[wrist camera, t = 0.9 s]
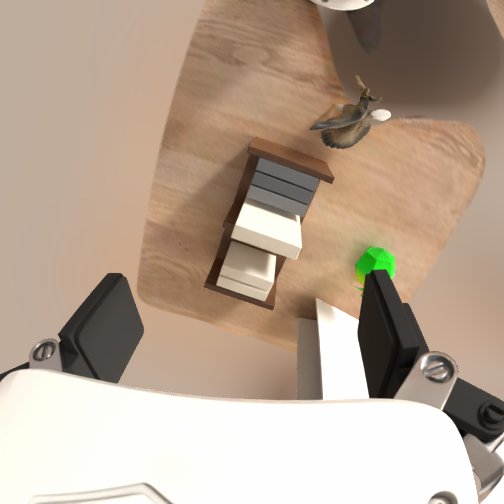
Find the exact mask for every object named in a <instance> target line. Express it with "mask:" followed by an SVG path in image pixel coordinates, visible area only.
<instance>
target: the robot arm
mask: <svg viewBox="0 0 504 504" xmlns="http://www.w3.org/2000/svg"><path fill="white" fill-rule="evenodd" d="M310 1H312V2H314V3H316V4H318V5H321V6H323V7H326V8H330V9H334V10H355V9H360V8H362V7H365V6H367V5H369V4H370V3H372V2H373V1H374V0H366V1H364V0H325V1H326V3H324V2H323V0H310ZM143 333H144V327H143V324H142V321H141V319H140V316H139V313H138V310H137V307H136V304H135V302H134V299H133V296H132V293H131V290H130V287H129V284H128V281H127V278H126V277H124V276H123V275H122V274H121V273H108V274H107V275H106V276H105V277H104V278H103V280H102V281H101V282H100V283H99V284H98V285H97V287H96V288H95V289H94V290H93V291H92V293H91V294H90V295H89V296H88V297H87V298H86V300H85V301H84V302H83V303H82V305H81V306H80V307H79V308H78V309H77V311H76V312H75V313H74V314H73V316H72V317H71V318H70V320H69V321H68V322H67V323H66V325H65V326H64V327H63V329H62V330H61V331H60V333H59V334H58V336H59V337H60V339H61V341H60V342H59V343H58V342H57V341H56V340H55V339H45V340H42V341H40V342H39V343H37V344H36V345H35V346H34V347H33V348H32V350H31V352H30V355H29V362H27V363H25V364H22V365H20V366H18V367H16V368H13V369H11V370H9V371H7V372H5V373H2V374H0V504H504V402H503V401H502V400H500V399H498V398H497V397H495V396H492V395H491V394H489V393H487V392H485V391H483V390H481V389H479V388H477V387H475V386H473V385H472V384H470V383H468V382H466V381H464V380H462V379H460V378H458V372H459V371H458V366H457V364H456V362H455V361H454V360H453V359H452V358H451V357H450V356H449V355H447V354H445V353H442V352H437V351H431V352H430V351H429V349H428V346H427V344H426V342H425V339H424V337H423V335H422V332H421V330H420V328H419V325H418V323H417V321H416V319H415V317H414V314H413V312H412V310H411V308H410V306H409V304H408V303H402V302H401V299H400V297H399V295H398V293H397V291H396V288H395V286H394V284H393V282H392V280H391V278H390V276H389V274H388V272H387V270H386V269H377V270H371V272H370V274H366V275H365V281H364V289H363V296H362V303H361V310H360V316H359V323H358V329H357V338H358V343H359V347H360V352H361V357H362V362H363V367H364V372H365V378H366V383H367V389H368V395H369V399H337V400H258V399H256V400H255V399H236V398H222V397H210V396H199V395H189V394H180V393H173V392H165V391H158V390H151V389H145V388H138V387H133V386H126V385H121V384H118V382H119V380H120V377H121V376H122V374H123V372H124V370H125V368H126V366H127V364H128V362H129V360H130V358H131V356H132V355H133V353H134V351H135V349H136V347H137V345H138V343H139V341H140V339H141V338H142V336H143ZM470 463H471V464H472V466H473V467H474V468H475V469H474V470H473V471H474V472H475V473H476V475H477V476H478V477H479V479H480V481H481V490H480V493H479V495H478V496H477V493H476V488H475V483H474V479H473V474H472V470H471V465H470ZM430 498H431V499H430Z"/></svg>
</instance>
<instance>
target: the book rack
mask: <svg viewBox="0 0 504 504" xmlns="http://www.w3.org/2000/svg"><path fill="white" fill-rule="evenodd" d="M247 152H248V153H250V156H249V159H248V161H247V164H246V167H245V170H244V173H243V176H242V179H241V182H240V185H239V188H238V191H237V194H236V197H235V200H234V203H233V205H232V207H231V209H230V211H229V213H228V215H227V217H226V219H225V221H224V224H223V227H224V228H225V230H224V233H223V237H222V240H221V243H220V246H219V249H218V252H217V255H216V258H215V261H214V263H213V265H212V268H211V270H210V272H209V275H208V277H207V279H206V282H205V285H204V287H205V288H208V289H210V290H213V291H216V292H219V293H222V294H225V295H228V296H231V297H234V298H237V299H240V300H243V301H246V302H249V303H252V304H255V305H258V306H261V307H264V308H267V309H270V310H273V308H274V305H275V293H276V281H277V277H278V274H279V272H280V270H281V268H282V266H283V264H284V261H285V259H286V257H285V256H282V255H279V254H277V253H274V252H271V251H268V250H265V249H262V248H259V247H257V246H254V245H251V244H248V243H245V242H242V241H239V240H237V239H234V238H231V235H232V233H233V230H234V227H235V224H236V221H237V219H238V216H239V214H240V211H241V209H242V206H243V204H244V201H245V199H246V195H247V192H248V190H249V187H250V184H251V181H252V178H253V175H254V173H255V170H256V167H257V164H258V161H259V159H260V157H262V158H265V159H268V160H270V161H273V162H276V163H279V164H281V165H284V166H287V167H290V168H292V169H295V170H297V171H300V172H303V173H305V174H308V175H310V176H313V177H315V178H318V179H319V182H320V180H323V181H325V182H328V183H330V184H332V183H333V181H334V176H333V174H332V172H331V171H330V169H329V167H328V165H327V164H326V163H325V162H323V161H320V160H318V159H315V158H313V157H310V156H308V155H305V154H303V153H300V152H298V151H295V150H292V149H290V148H287V147H284V146H281V145H279V144H276V143H273V142H270V141H267V140H265V139H262V138H259V137H256V138H255V139H254V141H253V142H252V143H251V145H250V146H249V148H248V151H247ZM319 182H318V184H317V187H318V185H319ZM317 187H316V189H317ZM316 189H315V191H313V196H314V194H315V192H316ZM313 196H312V198H311V200H310V203H311V201H312V199H313ZM310 203H309V204H308V207H307V210H308V208H309V205H310ZM307 210H306V212H307ZM306 212H305V214H304V217H305V215H306ZM304 217H301V216H300V229H301V224H302V221H303V219H304ZM231 241H234V242H237V243H240V244H243V245H246V246H248V247H251V248H254V249H257V250H260V251H263V252H266V253H268V254H271V255H274V256H276V263H275V274H274V283H273V285H272V287H271V289H270V291H269V294H268V296H267V298H266V300H265V301H261V300H258V299H255V298H252V297H249V296H246V295H243V294H240V293H237V292H234V291H231V290H229V289H226V288H223V287H220V286H217V285H216V284H217V281H218V278H219V275H220V272H221V269H222V266H223V263H224V260H225V257H226V255H227V252H228V249H229V247H230V244H231ZM301 243H302V240H301ZM301 251H302V249H301ZM301 251H300V253H301ZM300 253H299V254H300Z"/></svg>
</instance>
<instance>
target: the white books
mask: <svg viewBox="0 0 504 504" xmlns="http://www.w3.org/2000/svg"><path fill="white" fill-rule="evenodd" d="M275 263H276V256H274V255H271V254H268V253H266V252H263V251H260V250H257V249H254V248H251V247H248V246H246V245H243V244H240V243H237V242H234V241H231V244H230V247H229V249H228V252H227V255H226V257H225V260H224V263H223V266H222V269H221V272H220V275H219V278H218V281H217V284H216V285H217V286H220V287H223V288H226V289H229V290H231V291H234V292H237V293H240V294H243V295H246V296H249V297H252V298H255V299H258V300H261V301H265V300H266V298H267V296H268V294H269V291H270V289H271V287H272V285H273V283H274V274H275Z"/></svg>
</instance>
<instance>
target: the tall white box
mask: <svg viewBox="0 0 504 504" xmlns="http://www.w3.org/2000/svg"><path fill="white" fill-rule="evenodd" d="M315 302H316V314H317V320H312V319H306V318H301V317H298V318H297V400H337V399H369V395H368V389H367V383H366V378H365V372H364V367H363V362H362V357H361V352H360V347H359V343H358V338H357V329H358V323H359V320H357V319H355V318H353V317H351V316H349V315H348V314H346V313H344V312H342V311H340V310H338V309H337V308H335V307H333V306H331V305H329V304H327V303H326V302H324V301H322V300H320V299H318V298H315Z"/></svg>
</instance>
